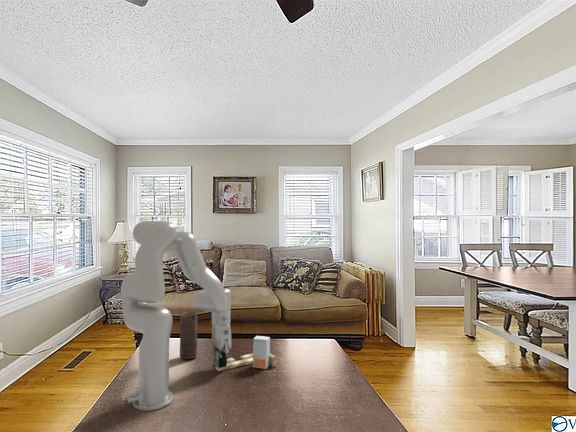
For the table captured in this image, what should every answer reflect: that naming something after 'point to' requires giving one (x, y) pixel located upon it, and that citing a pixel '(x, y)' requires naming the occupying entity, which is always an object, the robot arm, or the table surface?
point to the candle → (188, 335)
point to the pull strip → (240, 362)
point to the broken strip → (240, 358)
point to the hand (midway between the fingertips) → (220, 364)
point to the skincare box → (261, 352)
